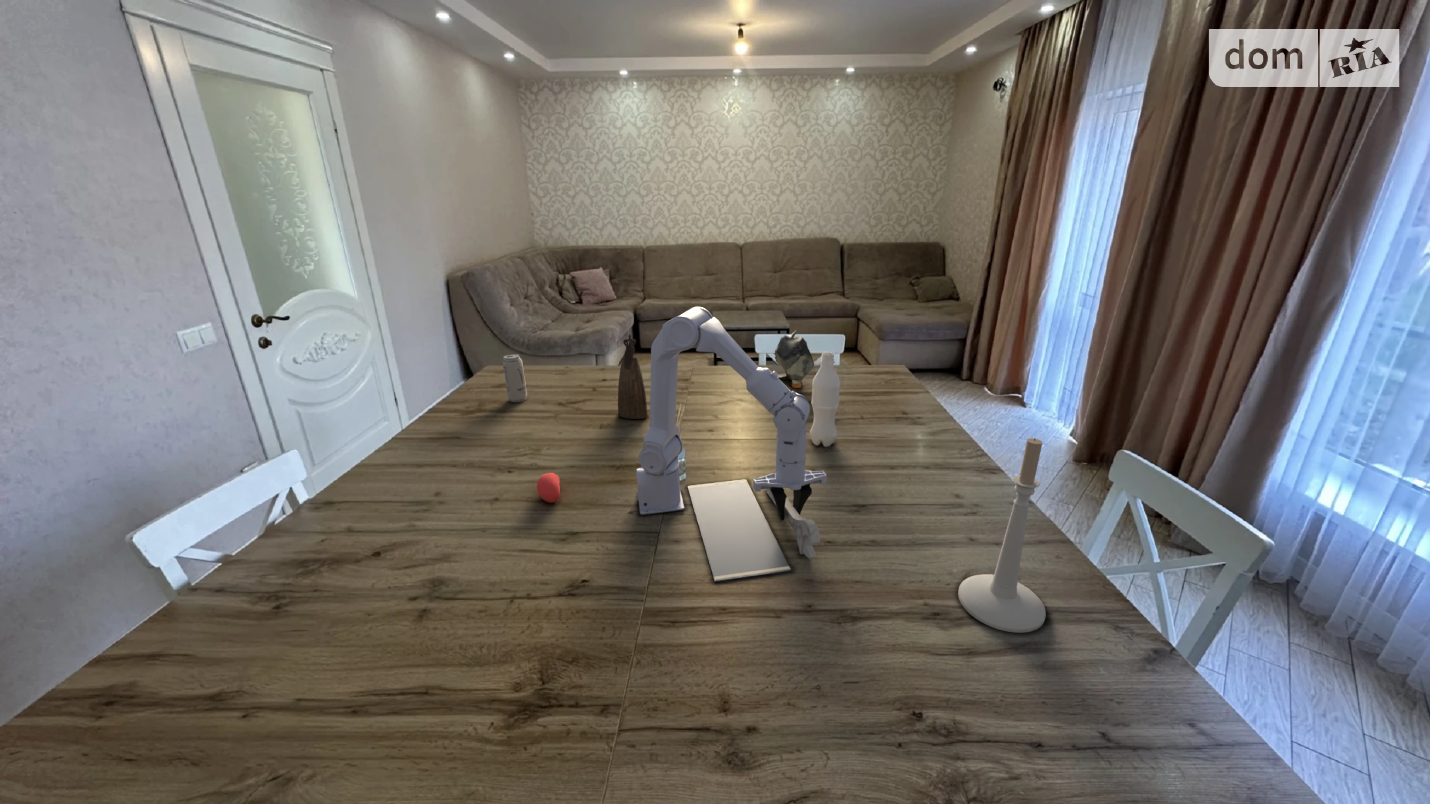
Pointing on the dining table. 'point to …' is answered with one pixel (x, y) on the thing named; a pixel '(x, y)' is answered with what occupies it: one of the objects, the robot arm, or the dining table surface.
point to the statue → (631, 385)
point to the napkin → (735, 531)
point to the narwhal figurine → (794, 358)
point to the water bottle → (825, 401)
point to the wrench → (801, 529)
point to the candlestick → (1009, 566)
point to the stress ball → (549, 487)
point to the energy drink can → (514, 378)
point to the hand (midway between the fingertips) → (788, 516)
